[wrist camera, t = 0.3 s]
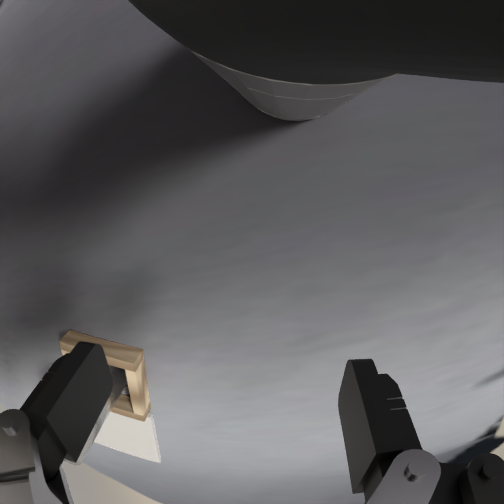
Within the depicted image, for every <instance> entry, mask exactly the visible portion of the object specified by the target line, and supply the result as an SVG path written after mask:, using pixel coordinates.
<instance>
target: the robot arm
mask: <svg viewBox="0 0 504 504" xmlns="http://www.w3.org/2000/svg"><path fill="white" fill-rule="evenodd" d="M129 1H130V2H131V3H132V4H133V5H134V6H135V7H136V8H137V9H138V10H139V11H140V12H141V13H142V14H143V15H145V16H146V17H147V18H148V19H149V20H151V21H152V22H153V23H155V24H156V25H157V26H158V27H160V28H161V29H162V30H164V31H165V32H166V33H168V34H169V35H170V36H172V37H173V38H174V39H175V40H177V41H178V42H179V43H181V44H182V45H183V46H184V47H186V48H187V49H188V50H189V51H191V52H192V53H193V54H194V55H196V56H197V57H198V58H199V59H200V60H202V61H203V62H204V63H206V64H207V65H208V66H209V67H210V68H212V69H213V70H214V71H215V72H216V73H217V74H219V75H220V76H221V77H222V78H223V79H224V80H225V81H227V82H228V83H229V84H230V85H231V86H232V87H233V88H234V89H236V90H237V91H238V92H239V93H240V94H241V95H242V96H243V97H244V98H245V99H247V100H248V101H249V102H250V103H251V104H252V105H253V106H255V107H256V108H257V109H258V110H260V111H262V112H263V113H265V114H268V115H270V116H272V117H275V118H279V119H283V120H288V121H303V120H309V119H314V118H318V117H320V116H322V115H325V114H327V113H328V112H330V111H332V110H334V109H336V108H338V107H339V106H341V105H343V104H345V103H347V102H348V101H350V100H352V99H354V98H356V97H358V96H359V95H361V94H363V93H365V92H367V91H369V90H371V89H372V88H374V87H376V86H378V85H380V84H382V83H384V82H386V81H387V80H389V79H391V78H393V77H395V76H397V75H399V74H409V75H420V76H430V77H439V78H449V79H459V80H470V81H483V82H498V83H504V0H129ZM112 388H113V378H112V375H111V372H110V369H109V366H108V363H107V359H106V356H105V353H104V350H103V347H102V346H101V345H100V344H96V343H90V342H84V341H79V342H78V343H77V344H76V345H75V347H74V348H73V349H72V351H71V352H70V353H66V354H65V355H63V356H62V357H60V358H59V359H57V360H56V361H55V362H54V364H53V365H52V366H51V367H50V369H49V370H48V373H46V374H45V375H44V377H43V378H42V380H41V381H40V382H39V383H38V385H37V386H36V387H35V389H34V390H33V392H32V393H31V394H30V396H29V397H28V399H27V400H26V401H25V403H24V404H23V406H22V407H21V408H20V409H19V410H18V409H9V410H6V411H3V412H2V413H0V504H74V503H73V499H72V497H71V493H70V490H69V486H68V483H67V480H66V476H65V472H64V469H63V467H62V465H61V464H62V462H63V460H64V459H66V460H69V461H72V462H75V463H76V462H77V460H78V458H79V456H80V454H81V452H82V450H83V448H84V446H85V444H86V442H87V440H88V438H89V436H90V434H91V432H92V430H93V428H94V426H95V424H96V422H97V420H98V418H99V416H100V414H101V412H102V410H103V408H104V406H105V404H106V402H107V400H108V398H109V396H110V394H111V392H112ZM338 408H339V415H340V420H341V426H342V431H343V437H344V442H345V448H346V454H347V460H348V466H349V472H350V479H351V485H352V492H353V494H355V493H363V492H364V495H365V501H366V502H365V503H364V504H504V461H503V460H502V459H501V458H500V457H499V456H497V455H495V454H491V453H483V454H480V455H478V456H476V457H475V458H474V459H473V460H472V461H471V462H470V463H469V464H447V463H441V462H438V460H437V459H436V458H435V457H434V456H433V455H432V454H431V453H429V452H427V451H424V450H423V449H422V447H421V445H420V442H419V439H418V436H417V433H416V431H415V428H414V425H413V423H412V420H411V417H410V415H409V412H408V409H406V404H405V402H404V399H402V394H401V392H400V389H399V387H398V384H397V383H396V382H395V381H394V380H393V379H392V378H391V377H390V376H389V375H388V374H378V372H377V369H376V367H375V364H374V362H373V360H372V359H355V360H348V361H347V364H346V368H345V372H344V376H343V380H342V384H341V388H340V392H339V399H338Z"/></svg>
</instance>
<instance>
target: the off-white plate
mask: <svg viewBox="0 0 504 504" xmlns="http://www.w3.org/2000/svg"><path fill="white" fill-rule="evenodd" d="M94 442H96V443H98V444H101V445H104V446H107V447H109V448H112V449H115V450H118V451H121V452H124V453H127V454H130V455H133V456H137V457H140V458H143V459H147V460H150V461H154V462H157V463H160V462H161V455H160V450H159V445H158V440H157V435H156V430H155V425H154V419H153V414H152V413H148V415H147V418H146V420H145V422H143V421H139V420H136V419H133V418H129V417H126V416H123V415H119V414H116V413H113V412H110V414H109V415H108V417H107V419H106V421H105V422H104V424H103V426H102V428H101V429H100V431H99V433H98V435H97V436H96V438H95V440H94Z"/></svg>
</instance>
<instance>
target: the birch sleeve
mask: <svg viewBox="0 0 504 504" xmlns="http://www.w3.org/2000/svg"><path fill="white" fill-rule="evenodd" d="M79 341H84V342H90V343H96V344H100V345H101V346H102V347H103V350H104V353H105V356H106V359H107V363H108V365H111V366H115V367H118V368H122V369H125V372H126V377H127V383H128V388H129V393H130V396H126V395H123V394H121V395H120V396H119V398H118V400H117V402H116V403H115V405H114V407H113V408H112V410H111V412H113V413H116V414H119V415H123V416H126V417H129V418H133V419H136V420H139V421H143V422H145V420H146V418H147V415H148V413H149V411H150V409H151V405H150V399H149V393H148V386H147V379H146V372H145V364H144V356H143V349H139V348H135V347H131V346H127V345H123V344H119V343H115V342H111V341H107V340H104V339H100V338H96V337H93V336H89V335H86V334H82V333H79V332H76V331H72V330H69V331H68V332H67V333H66V334H65V335H64V336H63V337H62V338H61V339H60V340H59V344H60V347H61V351H62V354H63V355H65V354H66V353H70V352H71V351H72V349H73V348H74V347H75V345H76V344H77V343H78V342H79Z"/></svg>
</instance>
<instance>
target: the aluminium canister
mask: <svg viewBox="0 0 504 504" xmlns="http://www.w3.org/2000/svg"><path fill="white" fill-rule="evenodd" d="M108 366H109V369H110V372H111V375H112V378H113V388H112V392H111V394H110V396H109V398H108V400H107V402H106V404H105V406H104V408H103V410H102V412H101V414H100V416H99V418H98V420H97V422H96V424H95V426H94V428H93V430H92V432H91V434H90V436H89V438H88V440H87V442H86V444H85V446H84V448H83V450H82V452H81V454H80V456H79V458H78V460H77V462H76V463H75V462H72V461H69V460H66V459H64V461H66V462H68V463H71V464H74V465H80V464H81V463H82V462H83V460H84V458H85V456H86V454H87V452H88V451H89V449H90V447H91V445H92V444H93V442H94V440H95V438H96V436H97V435H98V433H99V431H100V429H101V428H102V426H103V424H104V422H105V421H106V419H107V417H108V415H109V414H110V412H111V410H112V408H113V407H114V405H115V403H116V402H117V400H118V398H119V396H120V395H121V393H122V391H123V390H124V388H125V386H126V385H127V377H126V372H125V369H122V368H118V367H115V366H111V365H108Z"/></svg>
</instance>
